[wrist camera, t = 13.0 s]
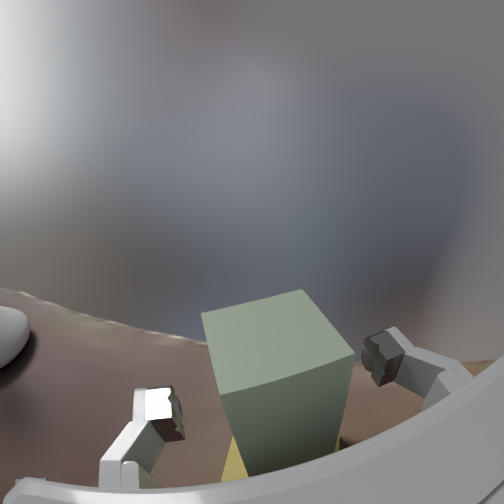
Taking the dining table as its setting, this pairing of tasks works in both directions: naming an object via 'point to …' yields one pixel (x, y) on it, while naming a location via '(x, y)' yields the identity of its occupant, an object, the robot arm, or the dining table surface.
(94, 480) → the dining table surface
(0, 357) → the flower in vase
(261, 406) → the green brick
